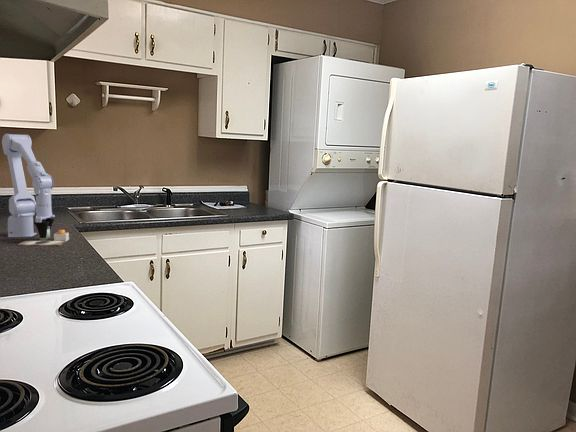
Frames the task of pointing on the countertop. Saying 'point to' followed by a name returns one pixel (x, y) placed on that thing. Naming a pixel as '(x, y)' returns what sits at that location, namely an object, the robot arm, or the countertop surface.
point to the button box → (61, 237)
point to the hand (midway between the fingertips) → (44, 236)
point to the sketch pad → (41, 243)
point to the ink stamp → (47, 235)
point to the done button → (61, 231)
